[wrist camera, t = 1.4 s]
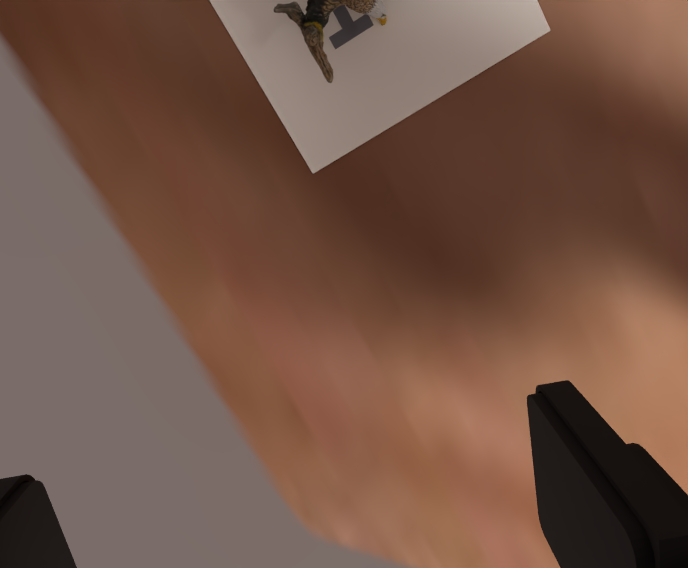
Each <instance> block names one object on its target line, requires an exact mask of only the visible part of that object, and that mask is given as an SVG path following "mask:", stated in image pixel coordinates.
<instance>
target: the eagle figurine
mask: <svg viewBox="0 0 688 568" xmlns="http://www.w3.org/2000/svg"><path fill="white" fill-rule="evenodd" d="M340 5H346V6H347V7H348V8H350V9H351V10H354V11H355V12H358V13H363V14H366V15H369V16H372V17H374V18H376V19H378V20H379V21H380V23H381V25H382V26H383V25H385V24H386V21H387V10H386V7H385V5H384V4H383V2H382V1H381V0H308V1H307V7H306V9H305V10H306V11H307V12H306V14H304V13H303V12H302V9H301V8H300V6H299V4H298V3H297V2H292V3H289V4H279V3H278V4H277V6H275V7H274V12H275V13H286V14H287V15H288V17H289V18H290V19H291V20H293V21H294V22H295V23H296V24H297V25H298V27H300V29H301V32H302V35H303V37H304V40H305V43H306V44H307V46H308V48H309V51H310V52H311V54H312V56H313V57H314V59H315V61H316V62H317V64H318V65H319V67H320V69H321V71H322V73H323V75H324V77H325V79H326V80H327V82H328V83H332V81H333V77H334V76H333V69H332V67H331V65H330V63H329V61H328V59H327V54H325V52H324V50H323V45H324V42H323V36H324V35H323V28H324V27H325V26H326V24H327V23H328V20H329V15H330V13H331V12H332V11H334V10H335V9H336V8H337V7H339V6H340Z"/></svg>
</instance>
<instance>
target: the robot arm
mask: <svg viewBox="0 0 688 568" xmlns="http://www.w3.org/2000/svg"><path fill="white" fill-rule="evenodd" d="M527 407H528V417H529V427H530V437H531V446H532V456H533V466H534V476H535V486H536V496H537V506H538V515H539V520H540V524H541V528H542V530H543V533H544V535H545V538H546V540H547V542H548V544H549V546H550V548H551V550H552V552H553V553H554V555H555V557H556V559H557V561H558V563H559V565H560V567H561V568H688V495H687V494H686V493H685V492H684V491H683V490H682V489H681V487H680V486H679V485H678V484H677V483H676V482H675V481H674V480H673V479H672V478H671V477H670V476H669V475H668V474H667V472H666V471H665V470H664V469H663V468H662V467H661V466H660V465H659V464H658V463H657V462H656V461H655V460H654V459H653V458H652V456H651V455H650V454H649V453H648V452H647V451H646V450H645V449H644V448H643V447H641V446H640V445H639V444H635V443H631V444H625V442H624V441H623V440H622V439H621V438H620V437H619V436H618V435H617V434H616V432H615V431H614V430H613V429H612V428H611V427H610V426H609V425H608V423H607V422H606V421H605V420H604V419H603V418H602V417H601V416H600V414H599V413H598V412H597V411H596V410H595V409H594V408H593V407H592V406H591V404H590V403H589V402H588V401H587V400H586V399H585V398H584V397H583V395H582V394H581V393H580V392H579V391H578V390H577V389H576V388H575V386H574V385H573V384H572V383H571V382H570V381H568V380H566V381H560V382H554V383H549V384H543V385H537V387H536V394H531V395H528V396H527ZM0 568H77V567H76V565H75V562H74V559H73V557H72V554H71V552H70V549H69V547H68V544H67V542H66V539H65V537H64V534H63V532H62V529H61V527H60V525H59V522H58V519H57V517H56V514H55V512H54V509H53V507H52V504H51V502H50V499H49V497H48V494H47V492H46V489H45V487H44V485H43V483H41V482H40V481H35V479H34V478H33V477H32V476H30V475H27V474H26V475H21V476H15V477H9V478H3V479H0Z"/></svg>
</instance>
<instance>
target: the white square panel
mask: <svg viewBox="0 0 688 568" xmlns="http://www.w3.org/2000/svg"><path fill="white" fill-rule="evenodd" d="M209 1H210V2H211V4H212V6H213V7H214V9H215V11H216V12H217V14H218V16H219V17H220V19H221V21H222V22H223V24H224V26H225V27H226V29H227V31H228V32H229V34H230V36H231V37H232V39H233V41H234V43H235V44H236V46H237V48H238V49H239V51H240V53H241V54H242V56H243V58H244V59H245V61H246V63H247V64H248V66H249V68H250V69H251V71H252V73H253V74H254V76H255V78H256V79H257V81H258V83H259V84H260V86H261V88H262V89H263V91H264V93H265V94H266V96H267V98H268V99H269V101H270V103H271V105H272V106H273V108H274V110H275V111H276V113H277V115H278V116H279V118H280V120H281V121H282V123H283V125H284V126H285V128H286V130H287V131H288V133H289V135H290V136H291V138H292V140H293V141H294V143H295V145H296V146H297V148H298V150H299V151H300V153H301V155H302V156H303V158H304V160H305V161H306V163H307V165H308V167H309V168H310V170H311V172H312V173H313V174H314V173H315V172H317V171H319V170H320V169H322V168H324V167H325V166H327V165H329V164H330V163H332V162H334V161H335V160H337V159H339V158H340V157H342V156H343V155H345V154H347V153H348V152H350V151H352V150H353V149H355V148H357V147H358V146H360V145H362V144H363V143H365V142H367V141H368V140H370V139H372V138H373V137H375V136H377V135H378V134H380V133H382V132H383V131H385V130H387V129H388V128H390V127H392V126H393V125H395V124H397V123H398V122H400V121H401V120H403V119H405V118H406V117H408V116H410V115H411V114H413V113H415V112H416V111H418V110H420V109H421V108H423V107H425V106H426V105H428V104H430V103H431V102H433V101H435V100H436V99H438V98H440V97H441V96H443V95H445V94H446V93H448V92H450V91H451V90H453V89H455V88H456V87H458V86H459V85H461V84H463V83H464V82H466V81H468V80H469V79H471V78H473V77H474V76H476V75H478V74H479V73H481V72H483V71H484V70H486V69H488V68H489V67H491V66H493V65H494V64H496V63H498V62H499V61H501V60H503V59H504V58H506V57H508V56H509V55H511V54H513V53H514V52H516V51H517V50H519V49H521V48H522V47H524V46H526V45H527V44H529V43H531V42H532V41H534V40H536V39H537V38H539V37H541V36H542V35H544V34H546V33H547V32H549V31H551V30H550V28H549V26H548V23H547V21H546V19H545V17H544V14H543V12H542V10H541V7H540V5H539V3H538V1H537V0H381V1H382V2H383V4H384V5H385V7H386V10H387V21H386V24H385V25H383V26H382V25H381V23H380V21H379V20H378V19H376V18H374V17H372V16H369V15H366V14H363V13H358V12H355V11H354V10H351V9H350V8H348V7H347V6H346V5H340V6H339V7H337V8H336V9H335V10H334V11H332V12H331V13H330V15H329V20H328V23H327V24H326V26H325V27H324V28H323V35H324V36H323V42H324V45H323V50H324V52H325V54H327V59H328V61H329V63H330V65H331V67H332V69H333V76H334V77H333V81H332V83H328V82H327V80H326V79H325V77H324V75H323V73H322V71H321V69H320V67H319V65H318V64H317V62H316V61H315V59H314V57H313V56H312V54H311V52H310V51H309V48H308V46H307V44H306V43H305V40H304V37H303V35H302V32H301V29H300V27H298V25H297V24H296V23H295V22H294V21H293V20H291V19H290V18H289V17H288V15H287V14H286V13H275V12H274V7H275V6H277V4H278V3H279V4H289V3H292V2H297V3H298V4H299V6H300V8H301V9H302V12H303V13H304V14H306V12H307V11H306V10H305V9H306V7H307V1H308V0H209Z"/></svg>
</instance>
